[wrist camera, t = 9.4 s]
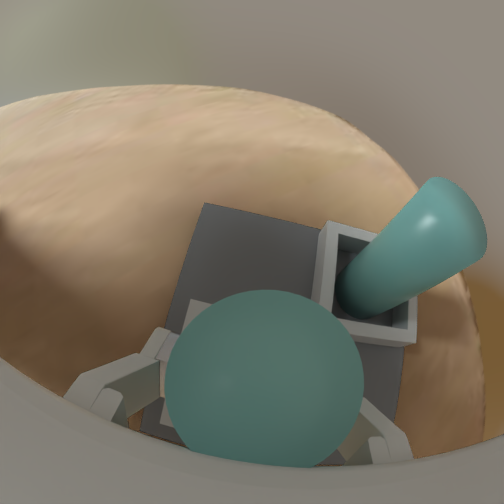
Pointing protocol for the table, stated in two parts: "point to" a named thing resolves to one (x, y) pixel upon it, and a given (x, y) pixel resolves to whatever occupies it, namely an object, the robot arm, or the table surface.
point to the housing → (333, 277)
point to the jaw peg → (264, 380)
